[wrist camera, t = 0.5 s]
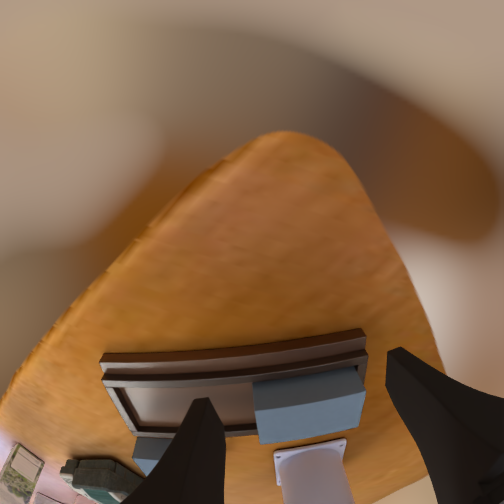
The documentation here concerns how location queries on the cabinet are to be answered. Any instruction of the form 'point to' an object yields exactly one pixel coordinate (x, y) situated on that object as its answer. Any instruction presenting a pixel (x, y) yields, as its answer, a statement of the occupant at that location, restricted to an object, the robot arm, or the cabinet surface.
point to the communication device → (100, 480)
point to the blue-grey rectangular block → (308, 405)
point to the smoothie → (83, 500)
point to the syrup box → (19, 476)
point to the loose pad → (149, 452)
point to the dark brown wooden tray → (218, 379)
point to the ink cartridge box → (44, 500)
